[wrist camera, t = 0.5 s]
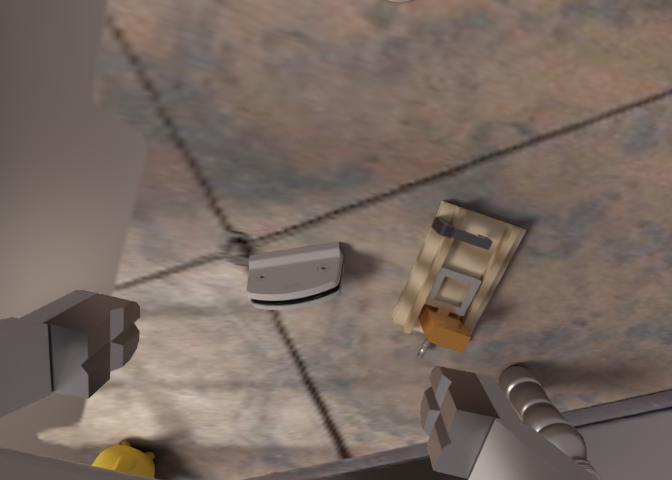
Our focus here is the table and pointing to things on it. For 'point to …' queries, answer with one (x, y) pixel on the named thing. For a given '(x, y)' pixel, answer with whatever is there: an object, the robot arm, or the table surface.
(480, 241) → the keeper hook
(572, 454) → the plastic bottle
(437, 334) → the chain end link
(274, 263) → the grey rounded slab
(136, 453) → the teapot
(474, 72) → the table surface
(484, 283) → the guide board
